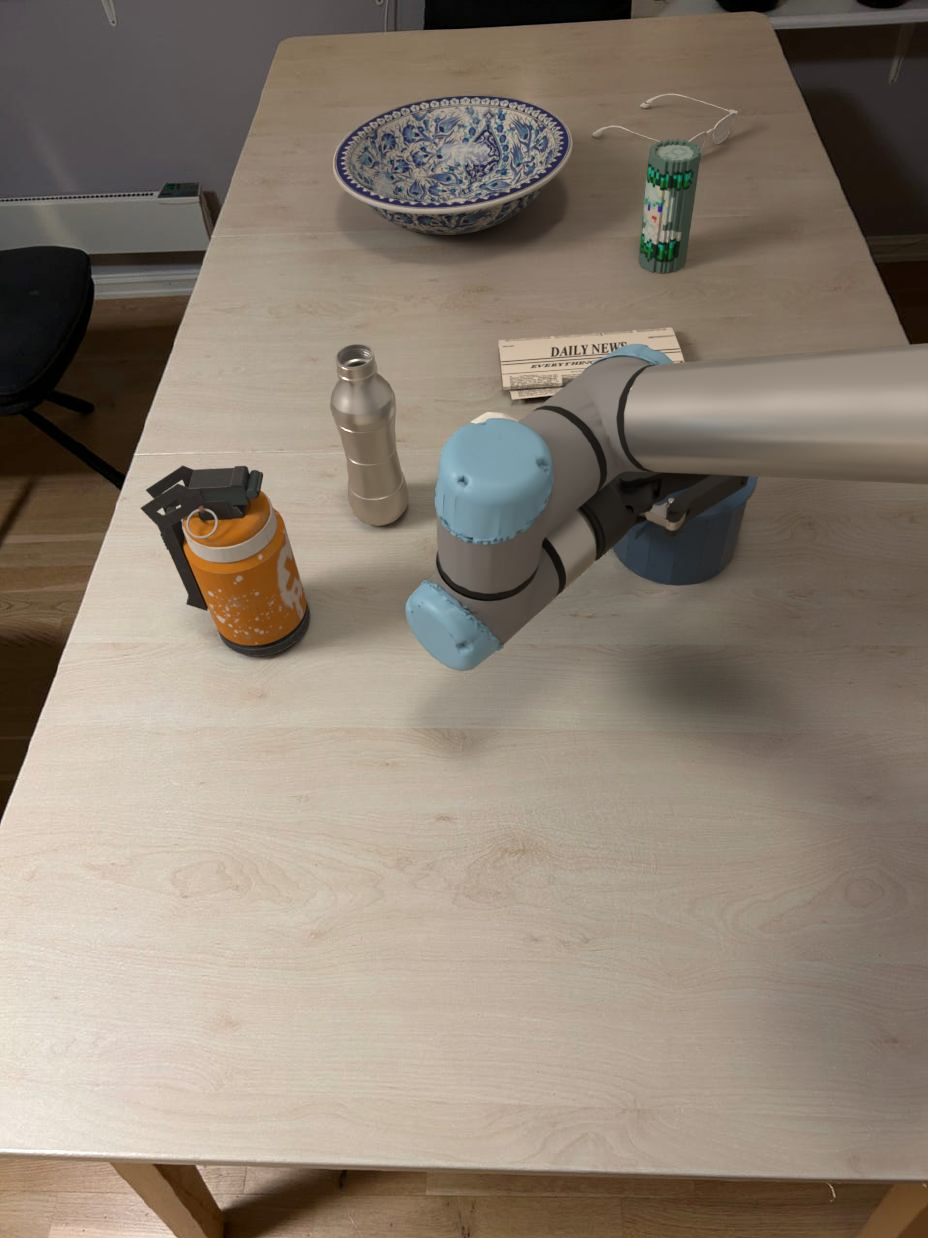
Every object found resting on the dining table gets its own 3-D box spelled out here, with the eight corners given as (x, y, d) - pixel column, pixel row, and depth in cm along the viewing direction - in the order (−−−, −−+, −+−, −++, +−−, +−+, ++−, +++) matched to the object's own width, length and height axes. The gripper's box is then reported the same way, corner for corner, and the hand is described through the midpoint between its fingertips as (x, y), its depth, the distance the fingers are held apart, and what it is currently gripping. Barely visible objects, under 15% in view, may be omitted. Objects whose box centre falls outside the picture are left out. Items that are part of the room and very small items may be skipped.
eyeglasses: (680, 170, 144) (683, 144, 141) (588, 138, 152) (589, 113, 149) (735, 133, 151) (740, 107, 148) (644, 104, 159) (646, 79, 156)
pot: (773, 520, 97) (793, 450, 90) (670, 621, 90) (683, 555, 82) (673, 466, 103) (684, 397, 96) (569, 558, 95) (572, 490, 88)
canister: (306, 658, 89) (259, 509, 74) (192, 663, 90) (121, 515, 74) (315, 587, 95) (272, 434, 79) (207, 592, 95) (144, 440, 80)
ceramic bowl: (331, 173, 150) (321, 108, 142) (540, 144, 152) (541, 78, 144) (354, 290, 128) (343, 220, 120) (597, 254, 131) (601, 183, 123)
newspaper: (504, 407, 111) (503, 389, 109) (498, 355, 119) (498, 337, 118) (695, 393, 110) (698, 375, 109) (676, 341, 119) (678, 323, 117)
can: (630, 261, 129) (640, 151, 117) (659, 244, 131) (672, 134, 120) (664, 277, 126) (678, 167, 114) (693, 260, 128) (710, 149, 117)
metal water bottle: (345, 531, 99) (311, 377, 84) (358, 488, 104) (328, 332, 88) (404, 535, 99) (381, 379, 83) (415, 491, 103) (395, 335, 87)
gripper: (473, 502, 84) (628, 381, 94) (665, 622, 75) (815, 474, 84) (469, 437, 78) (634, 316, 88) (677, 559, 69) (837, 407, 78)
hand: (723, 393), depth 86 cm, fingers open, 8 cm apart
